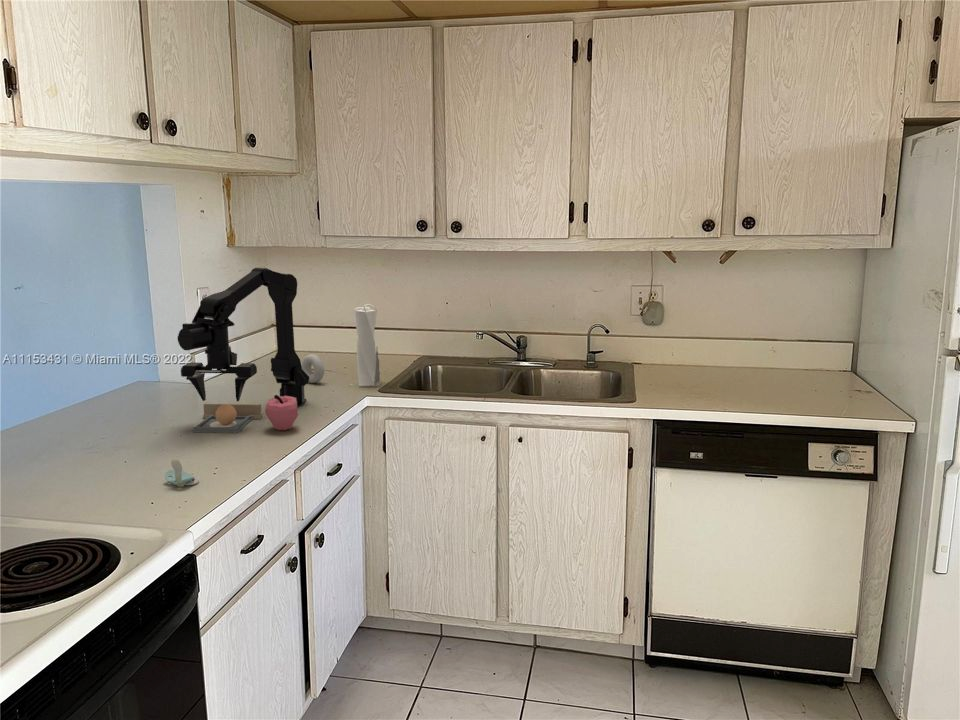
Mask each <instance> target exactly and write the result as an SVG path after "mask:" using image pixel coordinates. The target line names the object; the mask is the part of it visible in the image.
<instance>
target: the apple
mask: <svg viewBox="0 0 960 720" xmlns="http://www.w3.org/2000/svg"><path fill="white" fill-rule="evenodd" d="M264 411H265V415H266V417H267V418H268V420H269V422H270V423H271V424H272V425H273V427H274V429H276V430H277V431H278V430H279V431H288V430H287V429H289V430H291V428H292V427H293V425H294V424H295V422H296V421H297V418H298V416H299V413H298V412H299V411H298V406H297V401H296V398H294V397H291V396H280V395H278V394H275V395H274V397H272V398H270V399H268V400H267V403H266V405H265V410H264Z"/></svg>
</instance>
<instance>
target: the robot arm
mask: <svg viewBox="0 0 960 720" xmlns="http://www.w3.org/2000/svg"><path fill="white" fill-rule="evenodd" d="M262 286H263V287H267V291H268V296H269V298H270V299H271V300H272V302H273V305H274V315H275V316H274V317H275V318H274V319H275V330H276V347H277V348H276V349H277V351H276V354H275V356H274V357H271V358H270V365H271V367H270V372H272V375H273V377H274V378H275V381H276V383H277V384H280V388H279V396H291V397H294V398H296V401H297V407H299V406H302V405H303V404H304V403H306V402H307V398H305V397H306V395H305V386H306V385H308V384H309V383H310V382H309V376H308V375H307V374H306V373H305V372H304V371H303V370H302V362H301V359H300V357H299V356H298V354H297V353H296V350H295V333H294V321H293V320H294V318H293V317H294V315H293V314H294V313H293V302H294V300H295V298H296V297H297V295H298V294H297V293H298V292H297V291H298V279H297V277H295V276H294V274H292V273H281V272H278V271H274V270H272V269H270V268H267V267H255V268H252V269H251V271H249V273H247V274H245V276H243V277H241V278H240V279H239V280H237V281H236V282H235V283H233V284H231V285H230V286H229V287H228V288H226V289H225V290H222V291H219V292H215V293H212V294H210V295H208V296H205V297H203V298H202V299H201V300H200V303H199V307H198V308H197V311H196V313H195V315H194V316H193V319H192V321H191V323H188V322H187V323H182V326H181V327H182V328H181V329H180V330H179V331H178V335H177V342H178V345H179V347H180V348H181V349H182V350H183V351H191V350H196V349H202V348H206V349H204V354H205V355H206V361H207V364H205V365H204V364H203V362H193V361H192V362H187V363H186V364H184V365H183V366H181V368H180V376H181V377H183V378H185V379H186V380H187V381H189V382H190V383H191V384H192V385H193V387H194V389H196V391H197V393H198V395H199V397H200V399H201V400H202V402H205V401H206V400H207V398H206V397H207V396H206V395H207V394H206V386H205V374H233V375H234V374H235V375H236V376H237V377H235V379H234V385H235V386H234V388H235V389H234V390H235V399H236V402H239V401H240V400H241V397H242V393H243V390H244V387H245V384H246V382H247V380H250V378H252V377H253V376H255V375H256V374H258V367H257V365H256V364H255V363H251V362H248V363H246V362H241V363H240V364H238V365H237V362H238V353H235V352H232V348H231V347H232V346H230V342H229V340H230V339H229V327H234V326H235V322H233V321H232V320H230V318H229V317H230V316H231V315H232V314H233V313H234V312H235V311H236V308H237V305H238V304H239V303H241V302H242V301H243V300H244V299H246V298H247V297H248V296H250V295H251V294H252V293H253V292H255V291H256V290H258V289H259V288H260V287H262Z"/></svg>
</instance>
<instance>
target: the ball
mask: <svg viewBox="0 0 960 720" xmlns="http://www.w3.org/2000/svg"><path fill="white" fill-rule="evenodd" d="M236 416H237V413H236V410H235V408H234V407H233V406H231V405H228V404H224V405H221V406H220V407H218V409H217V410H216V413H215V417H216V419H217V421H218V422H219V423H221V424H225V425H227V424H230V423H232V422H233V421H234V420H235V419H236Z"/></svg>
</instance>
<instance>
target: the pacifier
mask: <svg viewBox="0 0 960 720" xmlns="http://www.w3.org/2000/svg"><path fill="white" fill-rule="evenodd" d="M170 464H171V467H172V469H170V470H167V471H166V472H165V474H164V479H165V480H166V481H167V482H169V483H172V485H174V484H175V485H177V486H176V487H185V486H184V485H186V486H194V485H196V484H198V483H199V482H200V479H199V478H198V477H196V475H195V476H194V475H191V474H189V473H188V472H187V471H186V472H185V471H183V466H182V463H181V461H180V460H179V459H178V458H177V457H176V456H175V457H173V458H172V459H171V462H170ZM175 485H174V486H175Z"/></svg>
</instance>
